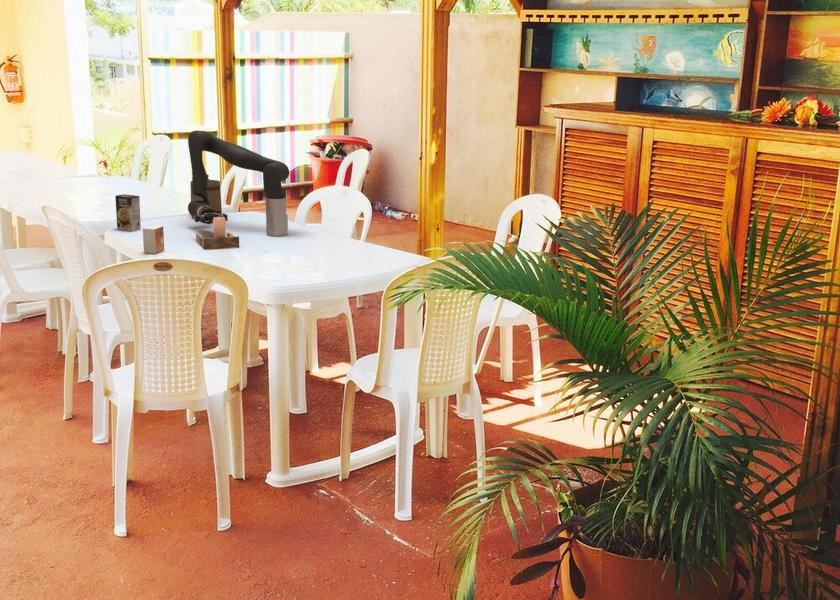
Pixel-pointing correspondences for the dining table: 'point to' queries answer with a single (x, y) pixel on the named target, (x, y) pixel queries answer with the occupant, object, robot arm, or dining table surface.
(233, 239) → the keyhole track
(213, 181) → the wooden container
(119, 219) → the coffee box
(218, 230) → the salmon orange cylinder
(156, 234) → the small box
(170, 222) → the dining table surface
